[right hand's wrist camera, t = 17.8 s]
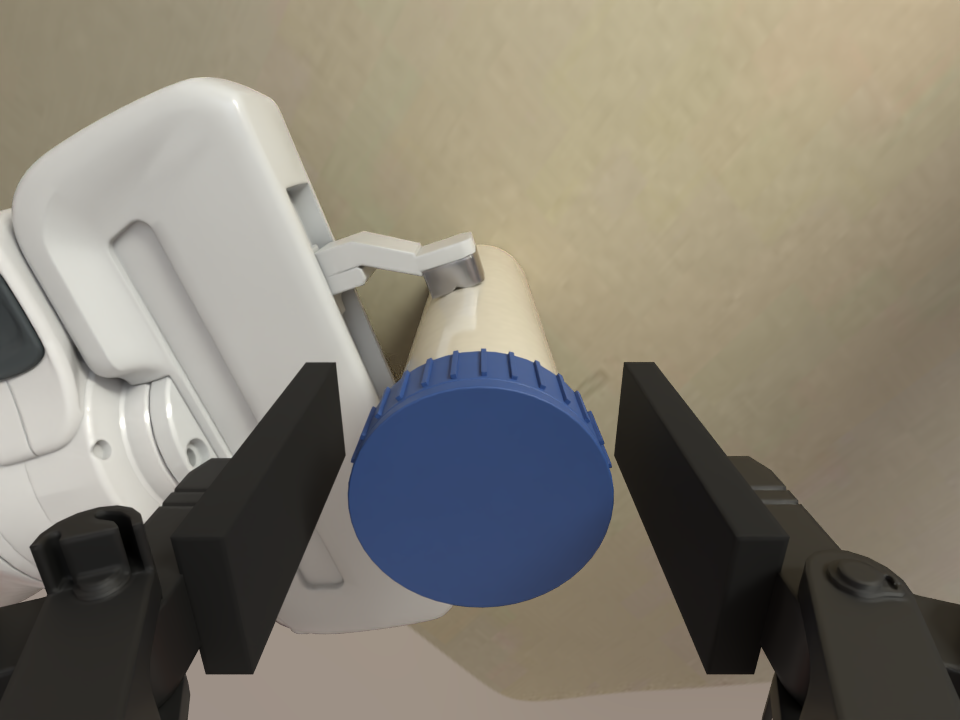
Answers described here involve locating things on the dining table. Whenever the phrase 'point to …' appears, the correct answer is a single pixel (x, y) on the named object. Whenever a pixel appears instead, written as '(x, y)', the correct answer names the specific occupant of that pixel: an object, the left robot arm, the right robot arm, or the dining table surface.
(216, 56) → the dining table surface
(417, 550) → the lid
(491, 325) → the white cylindrical bottle
